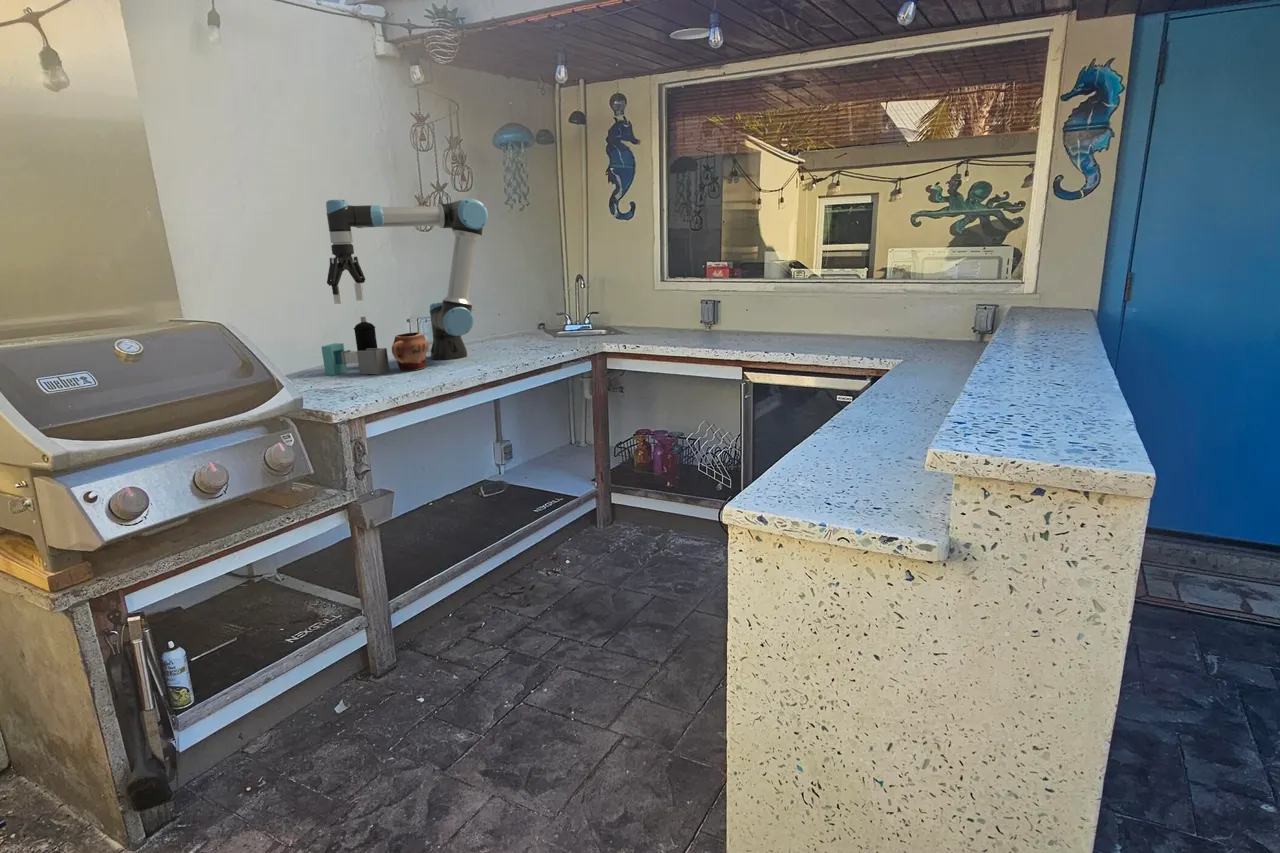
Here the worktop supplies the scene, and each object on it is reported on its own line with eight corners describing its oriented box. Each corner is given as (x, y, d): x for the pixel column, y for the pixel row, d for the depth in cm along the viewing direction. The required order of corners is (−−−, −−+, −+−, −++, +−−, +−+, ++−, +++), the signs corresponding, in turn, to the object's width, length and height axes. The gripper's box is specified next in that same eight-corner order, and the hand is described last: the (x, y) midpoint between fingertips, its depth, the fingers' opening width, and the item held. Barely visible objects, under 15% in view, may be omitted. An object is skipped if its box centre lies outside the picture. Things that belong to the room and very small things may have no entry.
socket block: (347, 371, 285) (343, 343, 282) (334, 375, 278) (330, 346, 275) (338, 371, 286) (334, 343, 283) (325, 375, 278) (321, 346, 276)
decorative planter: (412, 374, 272) (408, 337, 268) (383, 374, 274) (378, 337, 271) (438, 365, 290) (434, 330, 287) (410, 365, 293) (406, 330, 290)
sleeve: (389, 371, 281) (386, 348, 279) (379, 375, 274) (375, 351, 272) (370, 371, 283) (367, 348, 280) (360, 375, 276) (356, 351, 273)
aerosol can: (368, 368, 289) (361, 318, 284) (354, 367, 293) (347, 317, 288) (384, 365, 295) (378, 315, 290) (371, 364, 300) (364, 315, 295)
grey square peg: (383, 362, 279) (382, 349, 278) (376, 364, 274) (375, 351, 273) (350, 362, 282) (348, 350, 281) (342, 364, 277) (340, 352, 276)
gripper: (353, 243, 280) (360, 299, 286) (311, 244, 257) (319, 305, 262) (370, 242, 279) (377, 299, 284) (329, 243, 255) (337, 304, 260)
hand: (349, 302), depth 273 cm, fingers open, 13 cm apart
